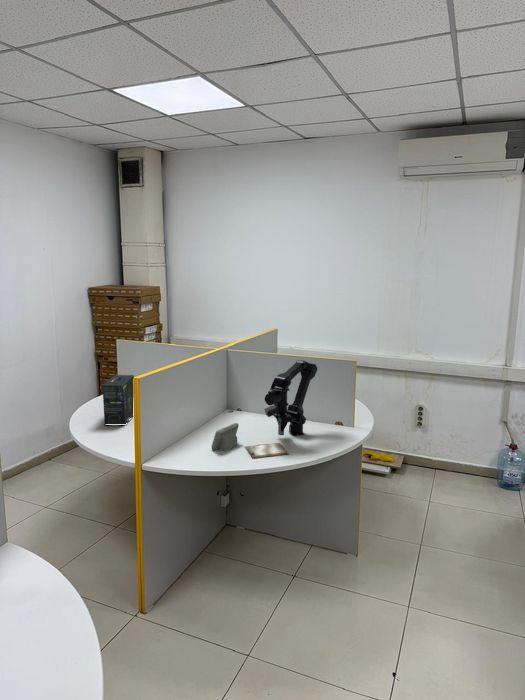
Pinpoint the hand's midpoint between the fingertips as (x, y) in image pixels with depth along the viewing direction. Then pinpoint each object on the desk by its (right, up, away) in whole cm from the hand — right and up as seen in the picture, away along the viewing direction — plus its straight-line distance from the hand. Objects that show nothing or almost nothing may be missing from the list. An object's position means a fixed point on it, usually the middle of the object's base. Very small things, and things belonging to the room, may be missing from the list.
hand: (281, 430), depth 245 cm
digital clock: (-28, -7, -6) cm, 29 cm away
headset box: (-91, 0, +33) cm, 97 cm away
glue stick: (0, -2, 0) cm, 2 cm away
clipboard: (-7, -8, -12) cm, 16 cm away
